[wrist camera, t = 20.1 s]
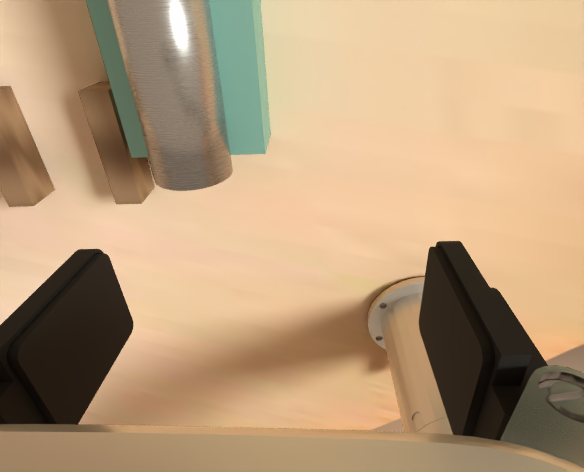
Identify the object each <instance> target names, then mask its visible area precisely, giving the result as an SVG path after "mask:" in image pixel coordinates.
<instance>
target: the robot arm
mask: <svg viewBox="0 0 584 472" xmlns="http://www.w3.org/2000/svg"><path fill="white" fill-rule="evenodd" d="M367 324H368V329H369V333H370V335H371V337H372V339H373V340H374V341H375V342H376V344H377V345H379V346H380V347H381V348H383V349H384V350H386V352H387V356H388V361H389V366H390V370H391V375H392V379H393V384H394V388H395V393H396V397H397V402H398V407H399V411H400V416H401V420H402V425H403V429H404V432H390V431H368V430H330V429H290V428H248V427H199V426H145V425H78V423H79V421H80V420H81V418H82V416H83V415H84V413H85V411H86V409H87V408H88V406H89V404H90V403H91V401H92V399H93V398H94V396H95V394H96V392H97V391H98V389H99V387H100V386H101V384H102V382H103V381H104V379H105V377H106V375H107V374H108V372H109V370H110V369H111V367H112V365H113V363H114V362H115V360H116V358H117V357H118V355H119V353H120V352H121V350H122V348H123V346H124V345H125V343H126V341H127V340H128V338H129V336H130V335H131V333H132V330H133V320H132V317H131V314H130V312H129V309H128V306H127V304H126V301H125V298H124V296H123V293H122V290H121V288H120V285H119V282H118V280H117V277H116V274H115V272H114V269H113V266H112V264H111V261H110V258H109V256H108V255H107V254H104V253H103V252H102V251H101V250H100V249H81V250H77V251H76V252H75V253H74V254H73V255H72V256H71V257H70V258H69V259H68V260H67V261H66V262H65V263H64V264H63V265H62V266H61V267H59V268H58V269H57V270H56V271H55V272H54V273H53V274H52V275H51V276H50V277H49V278H48V279H47V280H46V281H45V282H44V283H43V284H42V285H41V286H40V287H39V288H38V289H37V290H36V291H35V292H34V293H33V294H32V295H31V296H30V297H29V298H28V299H27V300H26V301H25V302H24V303H23V304H22V305H21V306H20V307H19V308H18V309H16V310H15V311H14V312H13V313H12V314H11V315H10V316H9V317H8V318H7V319H6V320H5V321H4V322H3V323H2V324H1V325H0V472H584V373H582V372H580V371H577V370H574V369H571V368H569V367H563V366H557V365H554V366H548V365H547V363H546V362H545V360H544V359H543V357H542V356H541V354H540V353H539V351H538V350H537V348H536V347H535V345H534V344H533V342H532V340H531V339H530V337H529V336H528V334H527V333H526V331H525V330H524V328H523V327H522V325H521V324H520V322H519V321H518V319H517V318H516V316H515V315H514V313H513V312H512V310H511V309H510V307H509V305H508V304H507V302H506V301H505V299H504V298H503V296H502V295H501V293H500V292H499V291H498V290H497V289H495V288H490V287H489V286H488V284H487V282H486V281H485V279H484V278H483V276H482V274H481V273H480V271H479V270H478V268H477V267H476V265H475V263H474V262H473V260H472V259H471V257H470V255H469V254H468V252H467V251H466V249H465V248H464V246H463V244H462V243H461V242H460V241H441V242H437V244H436V247H430V249H429V253H428V260H427V266H426V273H425V277H418V278H412V279H408V280H404V281H401V282H399V283H397V284H394V285H392V286H391V287H389V288H388V289H386V290H384V291H383V292H382V293H381V294H380V295H379V296H378V297H377V298H376V299H375V300H374V302H373V303H372V305H371V307H370V309H369V312H368V316H367Z"/></svg>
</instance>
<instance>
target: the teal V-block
mask: <svg viewBox="0 0 584 472" xmlns="http://www.w3.org/2000/svg"><path fill="white" fill-rule="evenodd" d="M86 3H87V6H88V10H89V13H90V17H91V20H92V23H93V27H94V30H95V34H96V37H97V41H98V44H99V48H100V51H101V54H102V58H103V61H104V65H105V68H106V72H107V75H108V78H109V82H110V85H111V89H112V92H113V96H114V99H115V102H116V106H117V109H118V113H119V116H120V120H121V123H122V126H123V130H124V133H125V137H126V140H127V144H128V147H129V151H130V154H131V157H132V158H139V157H148V153H147V149H146V145H145V142H144V138H143V134H142V130H141V127H140V123H139V119H138V115H137V111H136V108H135V104H134V100H133V96H132V93H131V89H130V85H129V81H128V77H127V74H126V70H125V66H124V62H123V59H122V55H121V51H120V47H119V43H118V40H117V36H116V32H115V28H114V25H113V21H112V17H111V13H110V9H109V6H108V2H107V0H86ZM209 3H210V10H211V18H212V25H213V32H214V39H215V46H216V53H217V61H218V68H219V75H220V82H221V89H222V96H223V104H224V111H225V118H226V125H227V132H228V139H229V147H230V154H231V155H240V154H265V153H266V149H267V145H268V142H269V138H270V121H269V108H268V95H267V82H266V69H265V56H264V43H263V30H262V17H261V4H260V0H209Z"/></svg>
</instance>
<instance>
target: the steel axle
mask: <svg viewBox="0 0 584 472" xmlns="http://www.w3.org/2000/svg"><path fill="white" fill-rule="evenodd" d="M107 2H108V6H109V9H110V13H111V17H112V21H113V25H114V28H115V32H116V36H117V40H118V43H119V47H120V51H121V55H122V59H123V62H124V66H125V70H126V74H127V77H128V81H129V85H130V89H131V93H132V96H133V100H134V104H135V108H136V111H137V115H138V119H139V123H140V127H141V130H142V134H143V138H144V142H145V145H146V149H147V153H148V157H149V161H150V164H151V168H152V172H153V176H154V179H155V183H156V184H157V185H158V186H160V187H162V188H165V189H169V190H177V191H187V190H196V189H202V188H206V187H210V186H213V185H216V184H218V183H221V182H222V181H224V180H226V179H227V178H228V177H230V175H231V174H232V172H233V168H232V161H231V154H230V147H229V139H228V132H227V125H226V118H225V111H224V104H223V96H222V89H221V82H220V75H219V68H218V61H217V53H216V46H215V39H214V32H213V25H212V18H211V10H210V3H209V0H107Z"/></svg>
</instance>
